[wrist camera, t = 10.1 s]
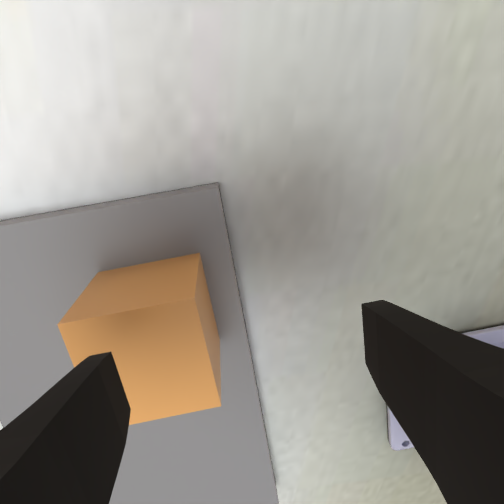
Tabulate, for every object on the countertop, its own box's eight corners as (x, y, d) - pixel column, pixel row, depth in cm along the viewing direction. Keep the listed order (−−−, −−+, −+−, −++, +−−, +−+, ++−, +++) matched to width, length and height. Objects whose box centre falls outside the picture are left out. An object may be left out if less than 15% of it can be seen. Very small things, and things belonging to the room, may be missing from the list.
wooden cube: (199, 252, 18) (194, 297, 14) (219, 339, 20) (221, 406, 15) (97, 272, 18) (57, 324, 14) (126, 358, 20) (99, 431, 15)
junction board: (218, 182, 19) (219, 199, 15) (275, 484, 26) (287, 555, 22) (-66, 232, 18) (-150, 265, 14) (72, 526, 25) (44, 607, 21)
